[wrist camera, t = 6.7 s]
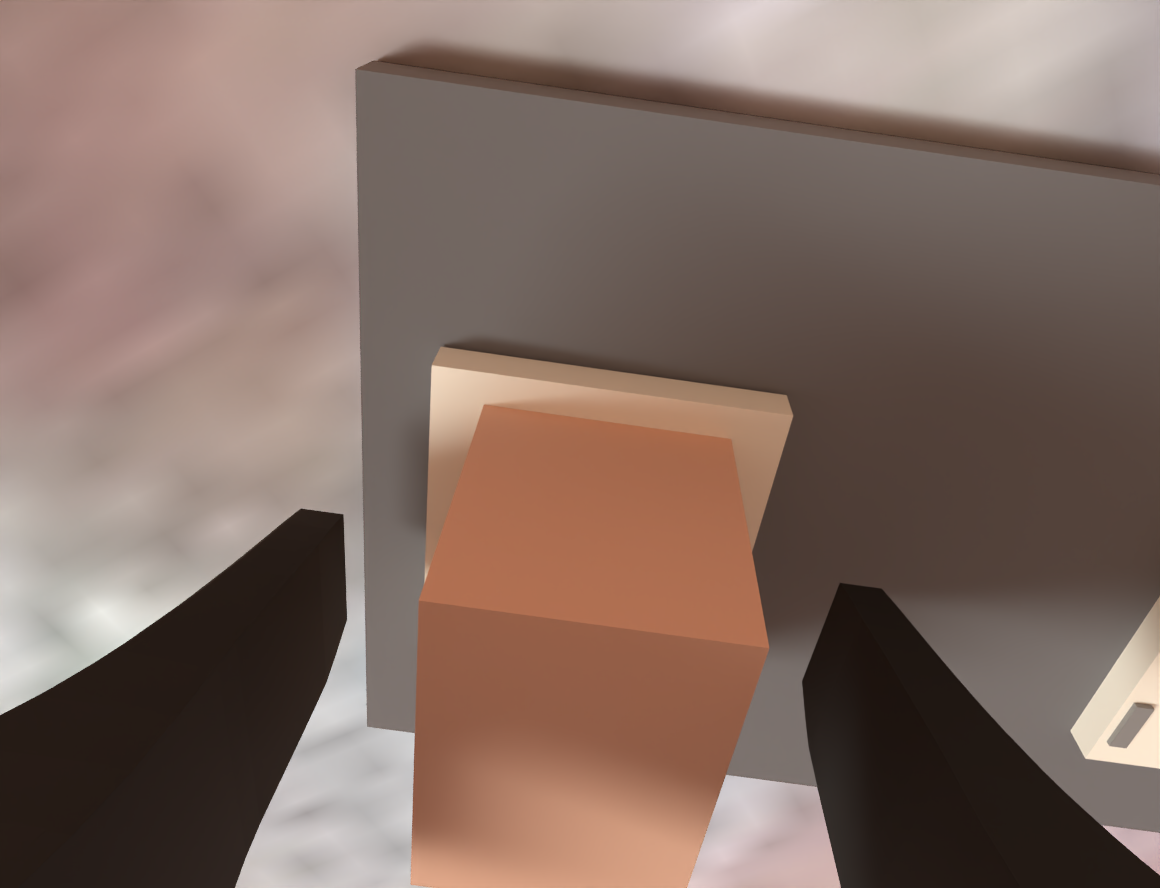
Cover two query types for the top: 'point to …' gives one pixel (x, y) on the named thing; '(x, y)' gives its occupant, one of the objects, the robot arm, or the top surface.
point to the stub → (583, 619)
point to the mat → (797, 371)
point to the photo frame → (1127, 704)
